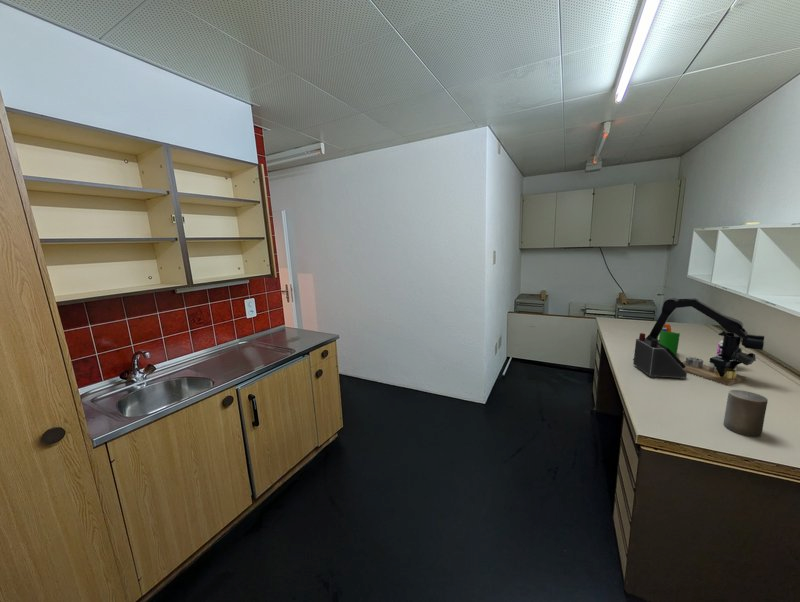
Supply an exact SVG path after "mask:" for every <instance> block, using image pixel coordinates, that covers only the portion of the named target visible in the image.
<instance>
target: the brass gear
mask: <svg viewBox="0 0 800 602" xmlns="http://www.w3.org/2000/svg"><path fill="white" fill-rule="evenodd" d="M737 372H738V371H737V370H734V369H732V368H726V371H725V373H724V376H723V377H721V376H720V375H719V373H718V371H717V370H716V376H719V377H720V378H725V379H732V380H734V379H736V374H738V373H737Z"/></svg>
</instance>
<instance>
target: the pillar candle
mask: <svg viewBox="0 0 800 602" xmlns="http://www.w3.org/2000/svg"><path fill="white" fill-rule="evenodd" d="M726 400H727V401H726V405H725V406H726V407H725V411H724V416H723V417H724V419H723V427H724V428H726V429H727V430H730V431H731V432H734V433H736V434H739V435H742V436H746V437H751V438H759V437H762V434H763V430H764V429H763V428H764V423H765V416H766V412H767V408H768V407H767V406H768V398H767V397H765V396H764V395H761V394H758V393H756V392H752V391H748V390H742V389H729V390H728V395H727V399H726Z"/></svg>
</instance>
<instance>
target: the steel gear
mask: <svg viewBox="0 0 800 602" xmlns="http://www.w3.org/2000/svg"><path fill="white" fill-rule="evenodd" d="M693 358H694V357H691V356H688V357H685V361H686V363H685V365H687V366H688V367H692V368H698V369H700V368H703V365H704V359H702V358H697V357H696V358H697V360H693Z"/></svg>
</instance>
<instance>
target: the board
mask: <svg viewBox="0 0 800 602" xmlns="http://www.w3.org/2000/svg"><path fill="white" fill-rule="evenodd" d="M693 360H697V357H693ZM681 362H682V363H683V364H684V365H685V363H686V360H685V361H681ZM709 363H710V362H709ZM685 366H686V367H685V368H683V369H684V370H685V371H686V372H687V374H689V375H692V374H693V375H692V376H695V375H696V377H698V376H699V378H701V377H703V379H705V380H708V381H711V380H712V381H711V382H714V381H715V383H717V384H720V383H721V384H720V385H724V386H731V385H734V384H737V383H740V382H741V383H742V382H744V381H747V378H748V377H747V376H746V375H741V374H739V373H736V379H734V380H732V379H725V378H720V377H719V376H716V370H717V369H716V367H715V365H714V364H713V363H710V364H709V365H705V364H703V368H700V369H698V368H692V367H688V366H687V365H685Z"/></svg>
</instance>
